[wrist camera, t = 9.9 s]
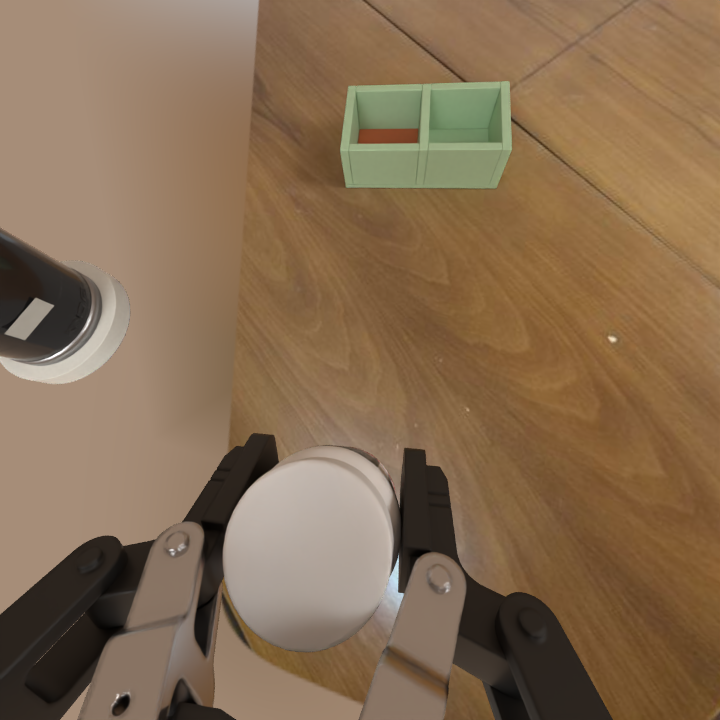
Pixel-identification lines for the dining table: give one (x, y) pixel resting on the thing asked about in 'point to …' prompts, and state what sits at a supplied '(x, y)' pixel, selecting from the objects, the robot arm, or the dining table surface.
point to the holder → (426, 135)
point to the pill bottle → (313, 547)
